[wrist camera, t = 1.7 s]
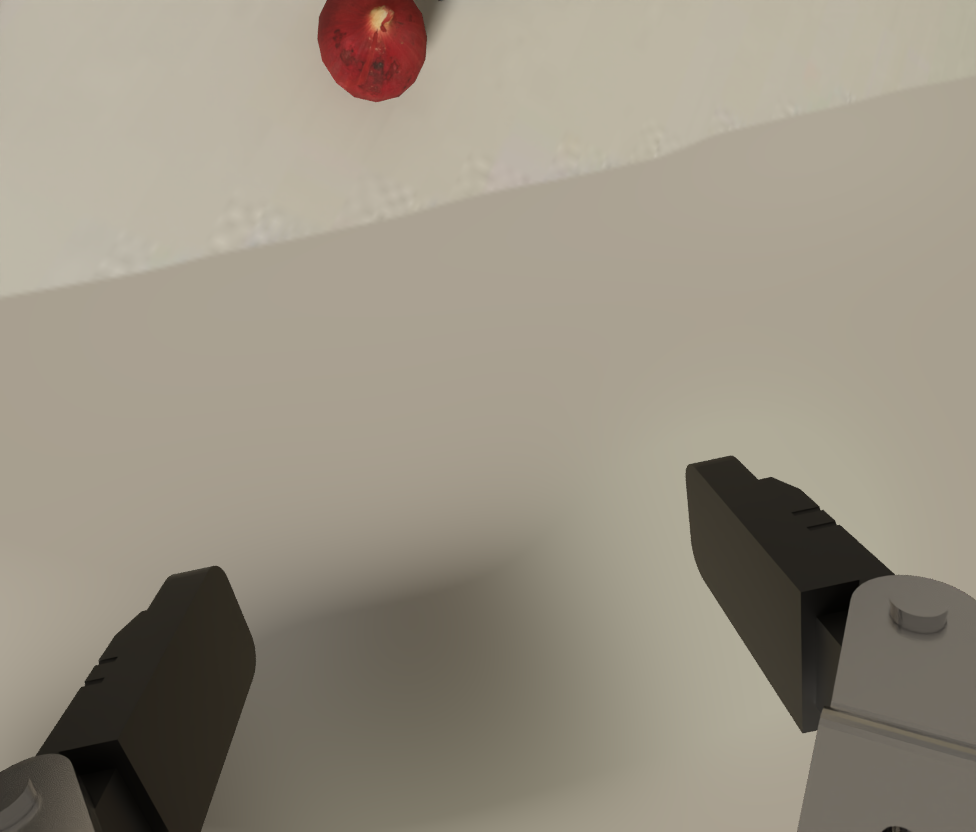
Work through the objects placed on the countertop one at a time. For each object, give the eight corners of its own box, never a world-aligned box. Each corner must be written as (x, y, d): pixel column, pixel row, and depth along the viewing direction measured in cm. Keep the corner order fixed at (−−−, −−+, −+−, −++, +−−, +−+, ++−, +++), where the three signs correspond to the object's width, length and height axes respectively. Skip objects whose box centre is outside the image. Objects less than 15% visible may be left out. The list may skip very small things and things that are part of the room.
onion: (410, 119, 40) (431, 96, 33) (313, 100, 39) (313, 71, 31) (421, 14, 39) (446, -34, 32) (321, -10, 37) (323, -67, 30)
